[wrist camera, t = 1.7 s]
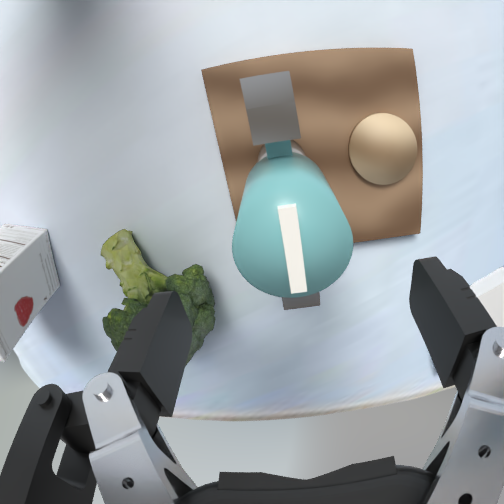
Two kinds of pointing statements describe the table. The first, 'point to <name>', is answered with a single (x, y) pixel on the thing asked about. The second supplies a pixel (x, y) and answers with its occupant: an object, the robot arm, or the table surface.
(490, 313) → the food packaging
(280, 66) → the board with gray uprights
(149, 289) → the vegetable
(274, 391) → the table surface
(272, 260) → the teal rounded body
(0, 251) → the supplement box
